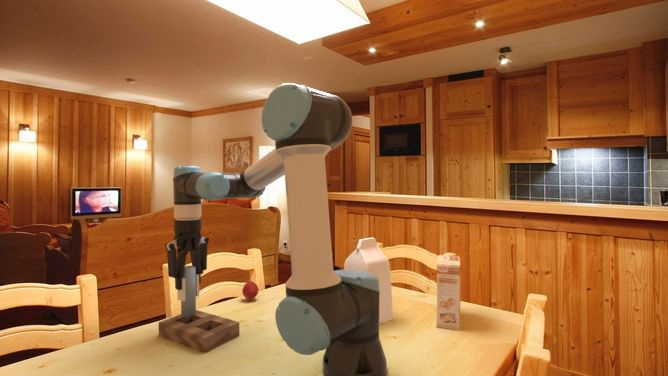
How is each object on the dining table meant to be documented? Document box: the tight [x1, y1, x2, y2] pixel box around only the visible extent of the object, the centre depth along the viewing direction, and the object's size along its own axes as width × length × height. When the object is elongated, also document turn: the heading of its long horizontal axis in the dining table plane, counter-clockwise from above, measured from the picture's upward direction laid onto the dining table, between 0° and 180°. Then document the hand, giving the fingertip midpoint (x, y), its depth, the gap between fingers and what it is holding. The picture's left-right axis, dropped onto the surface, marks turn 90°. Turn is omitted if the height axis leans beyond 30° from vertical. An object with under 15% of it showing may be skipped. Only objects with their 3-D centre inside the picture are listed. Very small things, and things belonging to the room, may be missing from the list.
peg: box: [180, 265, 197, 317], centre depth 105 cm, size 4×4×14 cm
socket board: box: [158, 309, 240, 354], centre depth 103 cm, size 20×12×4 cm, turn 59°
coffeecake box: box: [436, 254, 461, 331], centre depth 114 cm, size 15×7×20 cm, turn 161°
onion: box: [241, 279, 259, 302], centre depth 133 cm, size 6×6×8 cm
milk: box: [343, 237, 394, 325], centre depth 115 cm, size 12×12×26 cm
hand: (188, 297), depth 105 cm, fingers closed on peg, 4 cm apart
